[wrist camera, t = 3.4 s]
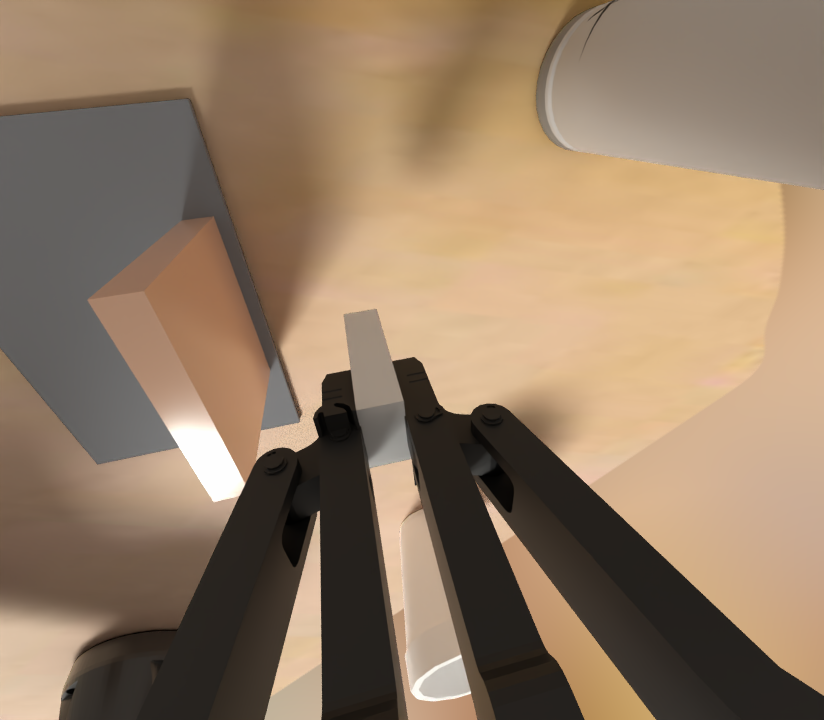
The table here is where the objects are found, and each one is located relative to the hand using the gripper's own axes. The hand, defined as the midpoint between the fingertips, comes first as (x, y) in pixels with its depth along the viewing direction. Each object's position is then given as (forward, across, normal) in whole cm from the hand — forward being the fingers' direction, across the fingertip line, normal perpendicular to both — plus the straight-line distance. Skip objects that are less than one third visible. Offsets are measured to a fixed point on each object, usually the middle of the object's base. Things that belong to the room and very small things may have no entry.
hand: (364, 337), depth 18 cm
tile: (+7, +7, 0) cm, 10 cm away
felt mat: (+7, +13, 0) cm, 15 cm away
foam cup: (+7, -3, +28) cm, 29 cm away
